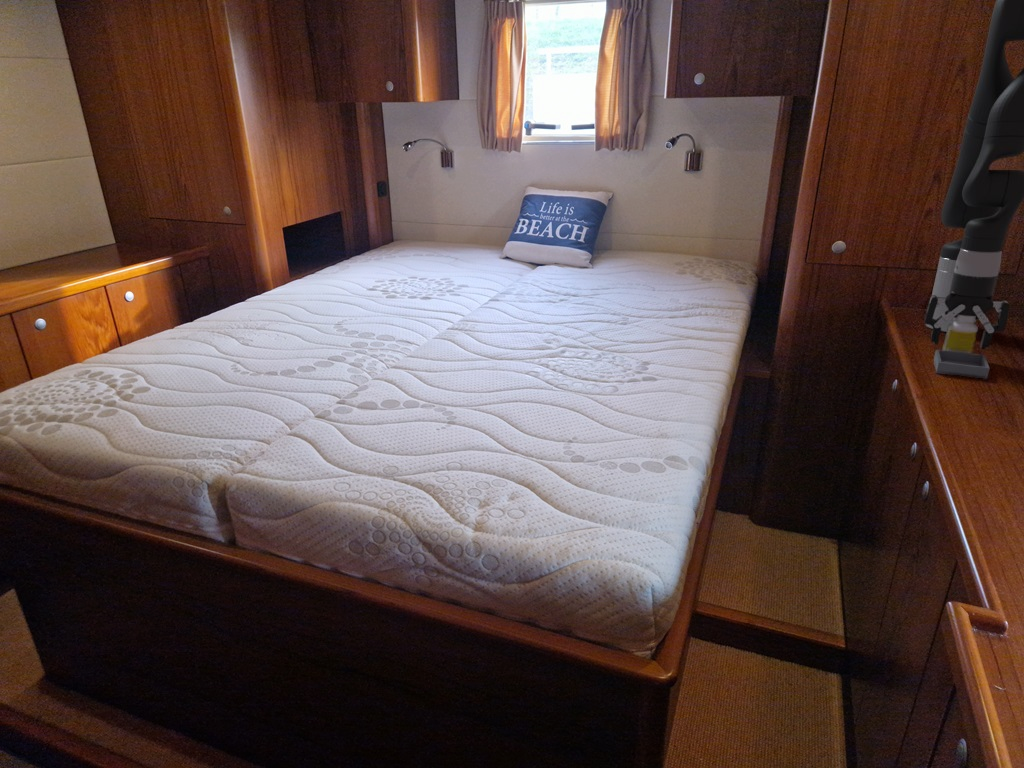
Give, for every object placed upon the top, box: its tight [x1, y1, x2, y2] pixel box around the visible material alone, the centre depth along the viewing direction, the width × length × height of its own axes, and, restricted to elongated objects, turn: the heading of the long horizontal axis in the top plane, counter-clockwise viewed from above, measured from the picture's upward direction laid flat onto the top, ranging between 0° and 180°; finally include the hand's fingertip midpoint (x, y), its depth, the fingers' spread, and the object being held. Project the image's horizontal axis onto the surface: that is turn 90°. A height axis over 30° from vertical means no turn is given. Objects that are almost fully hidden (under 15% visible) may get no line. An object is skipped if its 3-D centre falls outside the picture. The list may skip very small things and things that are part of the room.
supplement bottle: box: [941, 315, 979, 354], centre depth 141 cm, size 5×5×10 cm
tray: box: [933, 349, 991, 380], centre depth 136 cm, size 9×9×2 cm
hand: (958, 346), depth 142 cm, fingers open, 8 cm apart
